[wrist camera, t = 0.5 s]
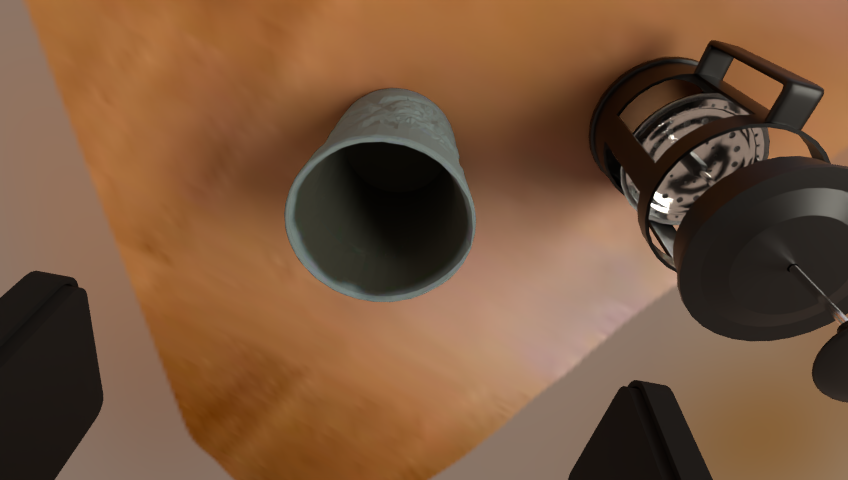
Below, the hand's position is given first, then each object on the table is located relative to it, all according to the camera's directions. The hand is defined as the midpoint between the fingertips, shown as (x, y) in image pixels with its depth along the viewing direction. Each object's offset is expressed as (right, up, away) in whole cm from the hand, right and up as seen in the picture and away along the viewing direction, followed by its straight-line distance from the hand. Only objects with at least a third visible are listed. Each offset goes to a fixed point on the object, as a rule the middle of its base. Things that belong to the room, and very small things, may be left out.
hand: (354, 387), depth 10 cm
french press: (+18, +11, +28) cm, 35 cm away
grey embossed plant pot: (-1, +10, +29) cm, 31 cm away
